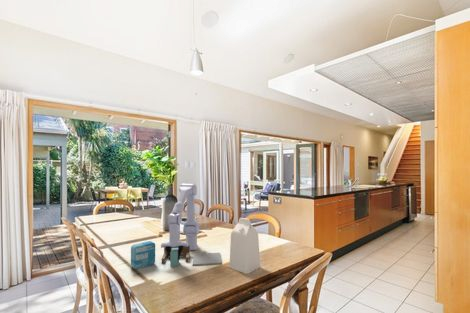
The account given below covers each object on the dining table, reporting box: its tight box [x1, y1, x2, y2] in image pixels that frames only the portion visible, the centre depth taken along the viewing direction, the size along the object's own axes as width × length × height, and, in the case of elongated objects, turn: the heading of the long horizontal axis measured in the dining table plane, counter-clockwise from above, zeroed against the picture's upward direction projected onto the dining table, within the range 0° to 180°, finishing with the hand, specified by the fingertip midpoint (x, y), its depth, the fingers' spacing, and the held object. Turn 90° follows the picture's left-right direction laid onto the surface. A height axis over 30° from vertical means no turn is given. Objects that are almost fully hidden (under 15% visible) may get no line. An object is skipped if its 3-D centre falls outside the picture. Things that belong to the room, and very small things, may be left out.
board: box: [192, 252, 222, 267], centre depth 144 cm, size 16×16×1 cm
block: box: [169, 248, 180, 268], centre depth 137 cm, size 6×4×8 cm, turn 7°
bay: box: [161, 245, 191, 264], centre depth 145 cm, size 10×15×6 cm
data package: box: [130, 240, 156, 270], centre depth 136 cm, size 12×4×12 cm, turn 134°
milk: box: [229, 217, 261, 275], centre depth 133 cm, size 12×12×26 cm
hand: (174, 259), depth 137 cm, fingers closed on block, 4 cm apart
